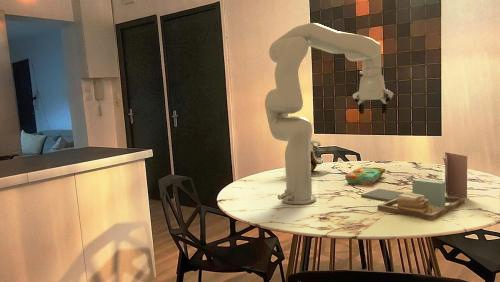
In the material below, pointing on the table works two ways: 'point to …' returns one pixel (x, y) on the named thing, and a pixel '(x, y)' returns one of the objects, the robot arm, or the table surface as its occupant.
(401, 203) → the offcut mid
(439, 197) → the pale teal block
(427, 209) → the offcut large
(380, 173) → the puzzle game
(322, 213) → the table surface
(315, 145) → the cherub figurine
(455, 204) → the brown wooden frame
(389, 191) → the mat
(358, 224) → the table surface
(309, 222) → the table surface
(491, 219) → the table surface
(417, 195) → the offcut small
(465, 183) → the greeting card
